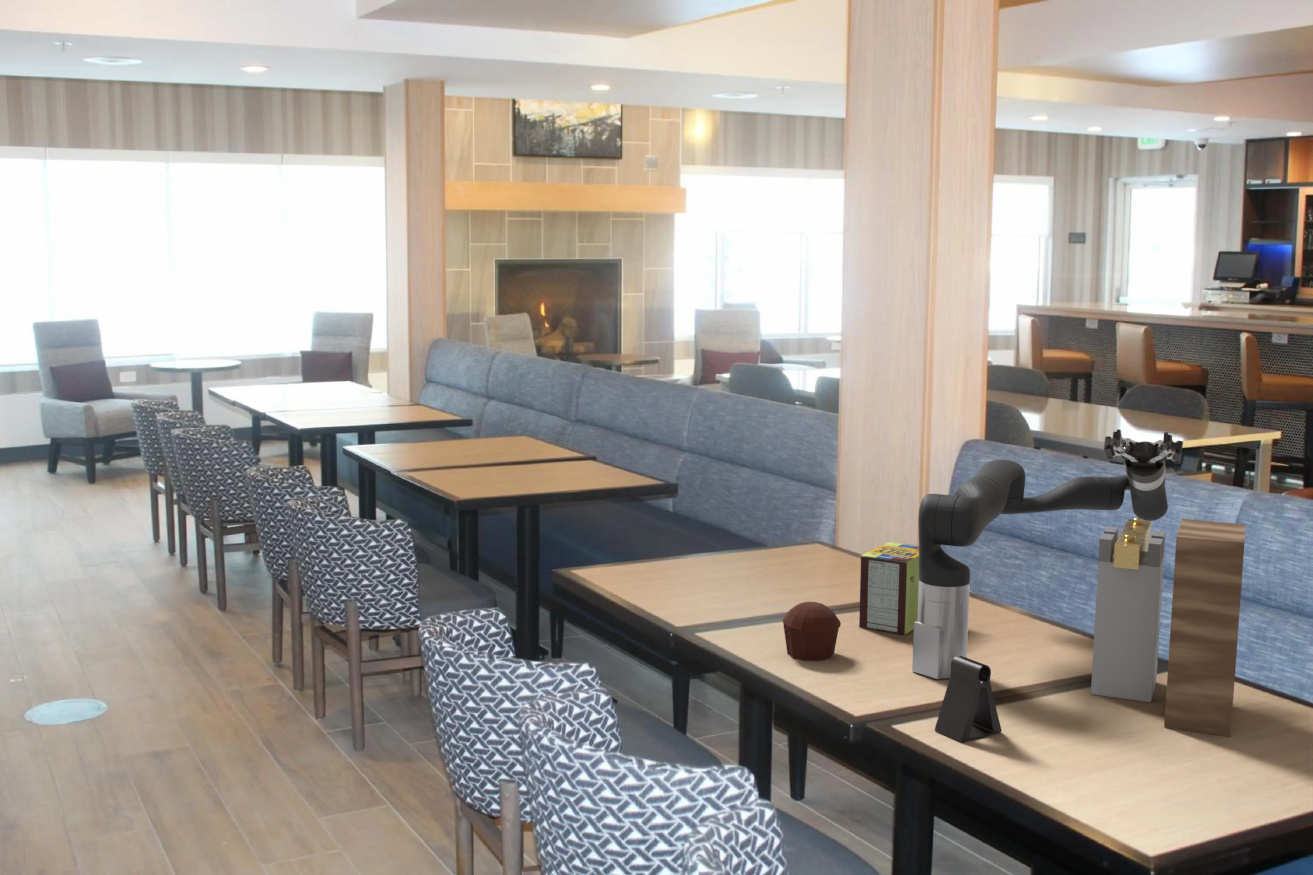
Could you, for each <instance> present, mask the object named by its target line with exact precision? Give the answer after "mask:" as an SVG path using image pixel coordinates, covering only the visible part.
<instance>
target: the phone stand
mask: <svg viewBox="0 0 1313 875" xmlns="http://www.w3.org/2000/svg"><path fill="white" fill-rule="evenodd" d="M991 675H992V670H991V668H990V666H989V665H987V664H984V663H982V662H979V661H976V660H973V659H970V658H969V657H967V658H965V657H963V656H960V658H959V657H956V656H955V657H954V658H953V660H952V662H951V675H950V678H948V679H949V680H948V683H947V686H946V690H945V693H944V697H943V700H942V703H941V706H940V710H939V712H938V716H937V720H936V723H935V727H934V731H935V732H936V733H939V734H942V735H944V736H946V737H948V738H950V739H953V740H954V741H957V742H959V743H961V744H964V743H968V742H971V741H974V740H975V741H976V740H978V739H981V738H983V739H984V738H986V737H987V738H988V737H990V736H994V735H998V734H1001V733H1002V728H1001V722H1000V718H999V714H998V711H997V706H996V702H995V698H994V694H993V690H992V689H993V688H992V685H991Z"/></svg>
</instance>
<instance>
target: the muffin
mask: <svg viewBox="0 0 1313 875" xmlns="http://www.w3.org/2000/svg"><path fill="white" fill-rule="evenodd" d="M781 620H782V624H783V630H784V631H783V632H784V637H785V647H786V654H787V655H788V656H790V657H791V658H792V659H794V660H800V661H804V662H823V661H826V660H831V659H832V657H833V656H834V655H835V649H836V645H837V639H838V634H839V628H840V627H841V624H842V623H841V620H840V619H839V617H838V616H837V615H836V613H835V612H834V610H833V609H831V608H830V607H829V606H827V605H826V604H825V603H821V602H816V601H804V602H800V603H798V604H796V605H794V606H793V607H791V608H790V609H789V610H788V611H787V613H786V614H785V616H784V617H782V619H781Z"/></svg>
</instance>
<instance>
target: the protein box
mask: <svg viewBox="0 0 1313 875" xmlns="http://www.w3.org/2000/svg"><path fill="white" fill-rule="evenodd" d="M859 579H860V582H859V584H860V585H859V616H858V617H859V624H858V627H859V628H862V629H867V630H874V631H879V632H885V633H886V632H887V633H891V634H897V635H898V634H899V635H903V636H905V635H907V634H909V633H910V632H912V631H914V622H916V621H917V615H918V589H919V545H914V544H906V543H898V542H892V541H889V542H886V543H884V544H883V545H880V546H877V547H876V548H874V549H872V550H870V551H868V552H867V551H866V552H865V553H864V554H861V555H860V577H859Z"/></svg>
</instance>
